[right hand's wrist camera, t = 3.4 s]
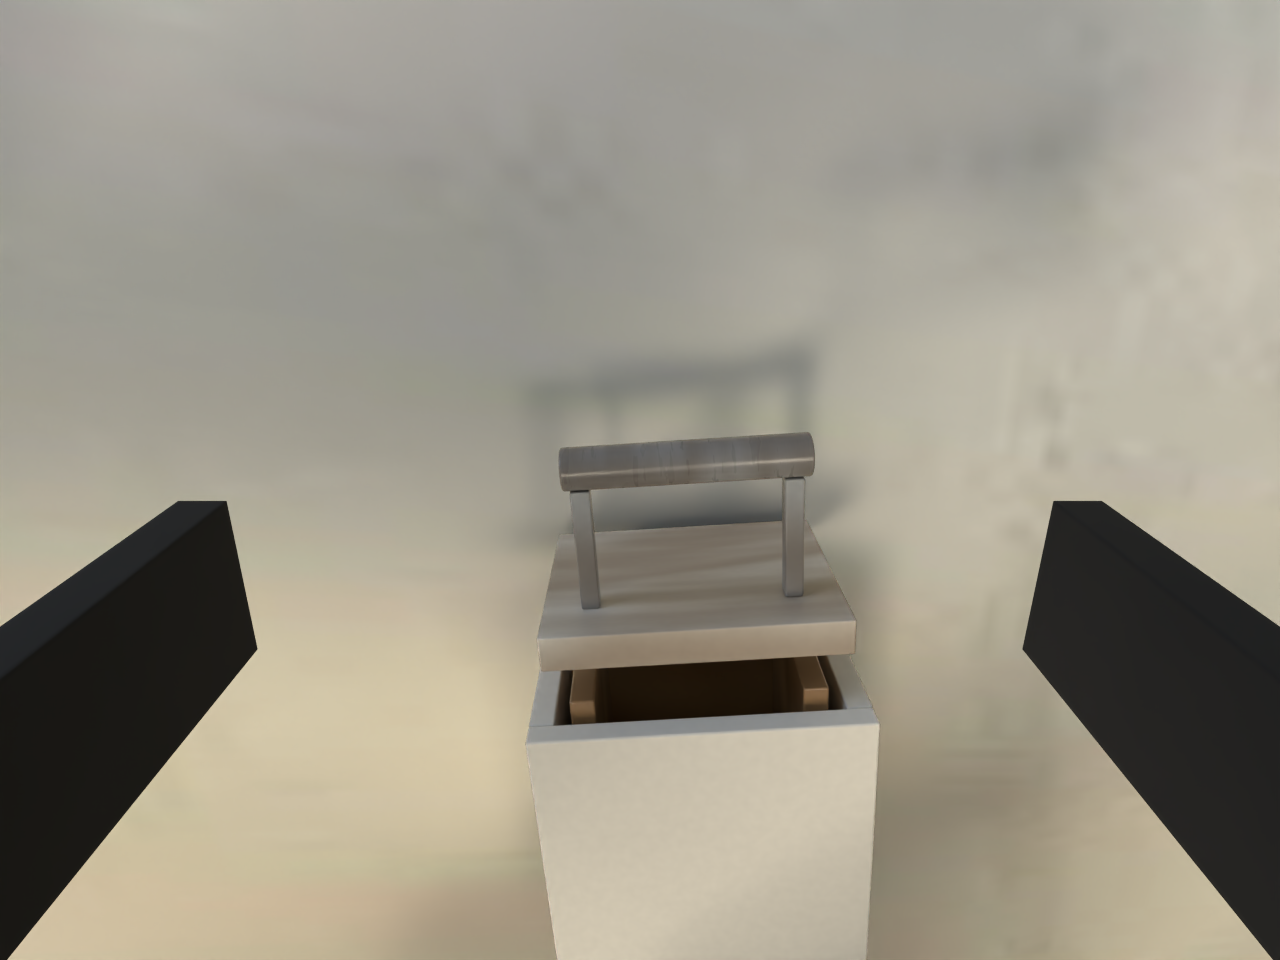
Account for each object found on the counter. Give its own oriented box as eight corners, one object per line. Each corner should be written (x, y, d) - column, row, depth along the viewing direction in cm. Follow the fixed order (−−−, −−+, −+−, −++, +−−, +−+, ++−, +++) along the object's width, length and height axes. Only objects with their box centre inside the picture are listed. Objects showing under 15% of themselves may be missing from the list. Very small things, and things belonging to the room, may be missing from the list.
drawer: (543, 401, 29) (514, 473, 22) (808, 384, 28) (863, 451, 21) (596, 865, 37) (587, 1025, 30) (802, 854, 37) (840, 1012, 30)
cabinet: (554, 592, 32) (524, 743, 24) (815, 577, 32) (881, 723, 24) (592, 914, 39) (580, 1122, 30) (809, 902, 39) (858, 1109, 30)
